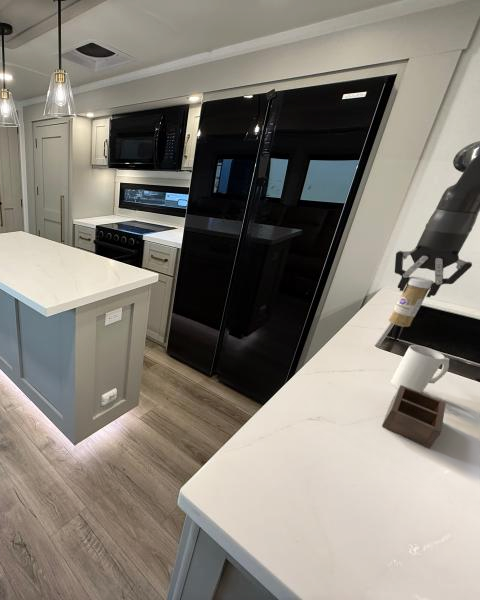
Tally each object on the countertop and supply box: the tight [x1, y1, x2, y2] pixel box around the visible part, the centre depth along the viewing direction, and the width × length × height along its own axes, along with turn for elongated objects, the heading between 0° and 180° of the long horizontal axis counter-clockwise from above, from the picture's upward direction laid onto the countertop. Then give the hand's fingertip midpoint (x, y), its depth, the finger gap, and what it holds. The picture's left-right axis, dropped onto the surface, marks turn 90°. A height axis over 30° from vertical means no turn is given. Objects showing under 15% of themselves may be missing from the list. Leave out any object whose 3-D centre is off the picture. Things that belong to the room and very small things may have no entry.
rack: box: [381, 385, 446, 449], centre depth 74 cm, size 8×15×5 cm, turn 130°
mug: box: [390, 344, 451, 393], centre depth 84 cm, size 10×7×12 cm, turn 78°
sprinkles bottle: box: [388, 276, 435, 328], centre depth 84 cm, size 5×5×14 cm
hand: (414, 293), depth 83 cm, fingers closed on sprinkles bottle, 4 cm apart
